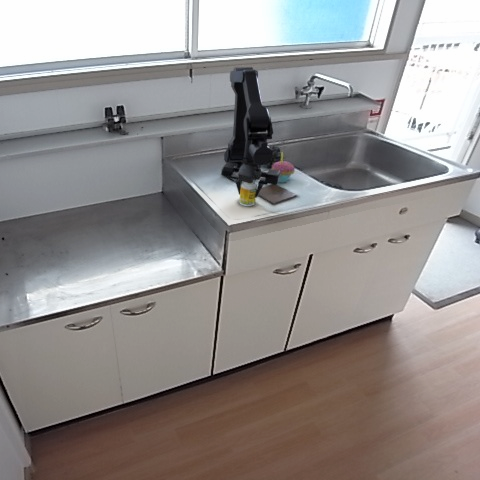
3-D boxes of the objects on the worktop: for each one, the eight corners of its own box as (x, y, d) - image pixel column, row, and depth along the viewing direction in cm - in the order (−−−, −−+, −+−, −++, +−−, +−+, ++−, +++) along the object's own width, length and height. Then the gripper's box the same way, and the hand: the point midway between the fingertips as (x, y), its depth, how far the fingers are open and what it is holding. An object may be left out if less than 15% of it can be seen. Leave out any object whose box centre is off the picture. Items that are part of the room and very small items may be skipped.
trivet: (251, 192, 142) (252, 190, 142) (274, 185, 147) (274, 183, 146) (273, 204, 134) (273, 203, 134) (296, 196, 139) (296, 195, 139)
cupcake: (281, 186, 146) (286, 155, 139) (264, 178, 152) (269, 148, 145) (297, 180, 149) (303, 150, 143) (280, 173, 155) (285, 144, 149)
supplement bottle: (245, 197, 139) (248, 172, 133) (257, 202, 136) (261, 177, 130) (235, 202, 136) (238, 177, 130) (248, 208, 132) (251, 182, 127)
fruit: (265, 135, 165) (268, 147, 153) (284, 142, 166) (288, 154, 153) (256, 153, 170) (258, 167, 158) (274, 160, 170) (277, 174, 158)
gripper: (217, 157, 123) (214, 200, 132) (277, 166, 116) (270, 212, 125) (228, 145, 131) (224, 187, 140) (284, 153, 125) (277, 197, 134)
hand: (247, 195), depth 135 cm, fingers closed on supplement bottle, 5 cm apart
